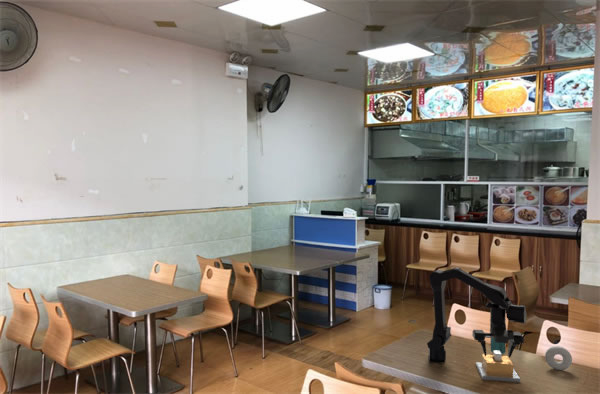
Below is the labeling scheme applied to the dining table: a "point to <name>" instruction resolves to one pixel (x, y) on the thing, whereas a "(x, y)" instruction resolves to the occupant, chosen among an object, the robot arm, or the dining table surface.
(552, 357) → the donut
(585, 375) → the dining table surface
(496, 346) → the beverage bottle
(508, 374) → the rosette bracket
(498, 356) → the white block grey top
